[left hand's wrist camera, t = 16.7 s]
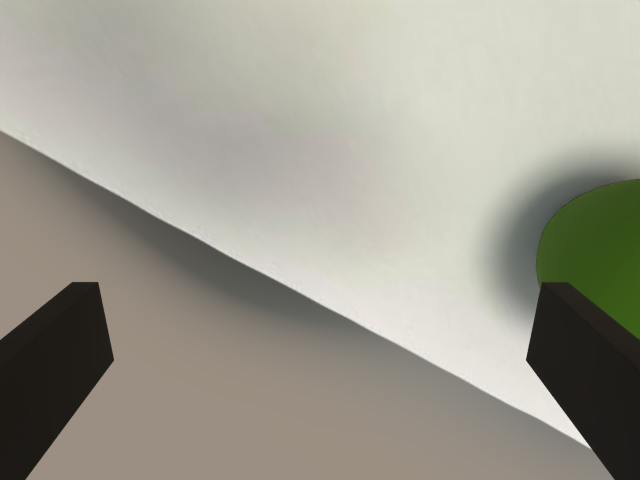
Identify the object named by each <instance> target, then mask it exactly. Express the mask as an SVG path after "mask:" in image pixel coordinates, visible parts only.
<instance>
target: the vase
mask: <svg viewBox="0 0 640 480" xmlns="http://www.w3.org/2000/svg"><path fill="white" fill-rule="evenodd" d="M536 271H537V279H538V283H539V286H540V289H541V284H542V282H568V283H569V284H571V285H572V286H573V287H574V288H576V289H577V290H578V291H579V292H581V293H582V294H583V295H584V296H586V297H587V298H588V299H589V300H591V301H592V302H593V303H594V304H596V305H597V306H598V307H599V308H601V309H602V310H603V311H604V312H606V313H607V314H608V315H609V316H610V317H612V318H613V319H614V320H615V321H617V322H618V323H619V324H620V325H622V326H623V327H624V328H625V329H627V330H628V331H629V332H630V333H632V334H633V335H634V336H635V337H637V338H638V339H639V340H640V179H635V180H629V181H623V182H617V183H612V184H608V185H604V186H601V187H597V188H595V189H593V190H591V191H589V192H587V193H584V194H582V195H581V196H579V197H577V198H575V199H574V200H572V201H570V202H569V203H567V204H566V205H564V206H563V207H562V208H561V209H560V210H559V211H558V212H556V213H555V214H554V216H553V217H552V218H551V219H550V221H549V222H548V223H547V225H546V227H545V229H544V231H543V233H542V236H541V239H540V242H539V247H538V251H537V260H536Z"/></svg>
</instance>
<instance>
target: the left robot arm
mask: <svg viewBox="0 0 640 480" xmlns="http://www.w3.org/2000/svg"><path fill="white" fill-rule="evenodd" d="M113 361H114V358H113V353H112V348H111V343H110V338H109V333H108V328H107V323H106V318H105V313H104V308H103V304H102V299H101V294H100V289H99V284H98V282H72V283H71V284H69V285H68V286H67V287H66V288H64V289H63V290H62V291H61V292H59V293H58V294H57V295H56V296H54V297H53V298H52V299H51V300H49V301H48V302H47V303H46V304H44V305H43V306H42V307H41V308H39V309H38V310H37V311H36V312H35V313H33V314H32V315H31V316H30V317H28V318H27V319H26V320H25V321H23V322H22V323H21V324H20V325H18V326H17V327H16V328H15V329H13V330H12V331H11V332H10V333H8V334H7V335H6V336H5V337H3V338H2V339H1V340H0V480H25V479H26V478H27V477H28V475H29V474H30V473H31V471H32V470H33V469H34V467H35V466H36V465H37V463H38V462H39V461H40V459H41V458H42V457H43V455H44V454H45V452H46V451H47V450H48V448H49V447H50V446H51V444H52V443H53V442H54V440H55V439H56V438H57V436H58V435H59V434H60V432H61V431H62V430H63V428H64V427H65V426H66V424H67V423H68V421H69V420H70V419H71V417H72V416H73V415H74V413H75V412H76V411H77V409H78V408H79V407H80V405H81V404H82V403H83V401H84V400H85V399H86V397H87V396H88V395H89V393H90V392H91V391H92V389H93V388H94V387H95V385H96V384H97V382H98V381H99V380H100V378H101V377H102V376H103V374H104V373H105V372H106V370H107V369H108V368H109V366H110V365H111V364H112V362H113ZM526 361H527V362H528V364H529V365H530V366H531V368H532V369H533V370H534V372H535V373H536V374H537V376H538V377H539V378H540V380H541V381H542V382H543V384H544V385H545V387H546V388H547V389H548V391H549V392H550V393H551V395H552V396H553V397H554V399H555V400H556V401H557V403H558V404H559V405H560V407H561V408H562V409H563V411H564V412H565V413H566V415H567V416H568V417H569V419H570V420H571V422H572V423H573V424H574V426H575V427H576V428H577V430H578V431H579V432H580V434H581V435H582V436H583V438H584V439H585V440H586V442H587V443H588V444H589V446H590V447H591V448H592V450H593V451H594V453H595V454H596V455H597V457H598V458H599V459H600V461H601V462H602V463H603V465H604V466H605V467H606V469H607V470H608V471H609V473H610V474H611V475H612V477H613V478H614V479H615V480H640V340H639V339H638V338H637V337H635V336H634V335H633V334H632V333H630V332H629V331H628V330H627V329H625V328H624V327H623V326H622V325H620V324H619V323H618V322H617V321H615V320H614V319H613V318H612V317H610V316H609V315H608V314H607V313H606V312H604V311H603V310H602V309H601V308H599V307H598V306H597V305H596V304H594V303H593V302H592V301H591V300H589V299H588V298H587V297H586V296H584V295H583V294H582V293H581V292H579V291H578V290H577V289H576V288H574V287H573V286H572V285H571V284H569V283H568V282H542V284H541V289H540V294H539V299H538V304H537V308H536V313H535V318H534V323H533V328H532V333H531V338H530V343H529V348H528V353H527V357H526Z"/></svg>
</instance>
